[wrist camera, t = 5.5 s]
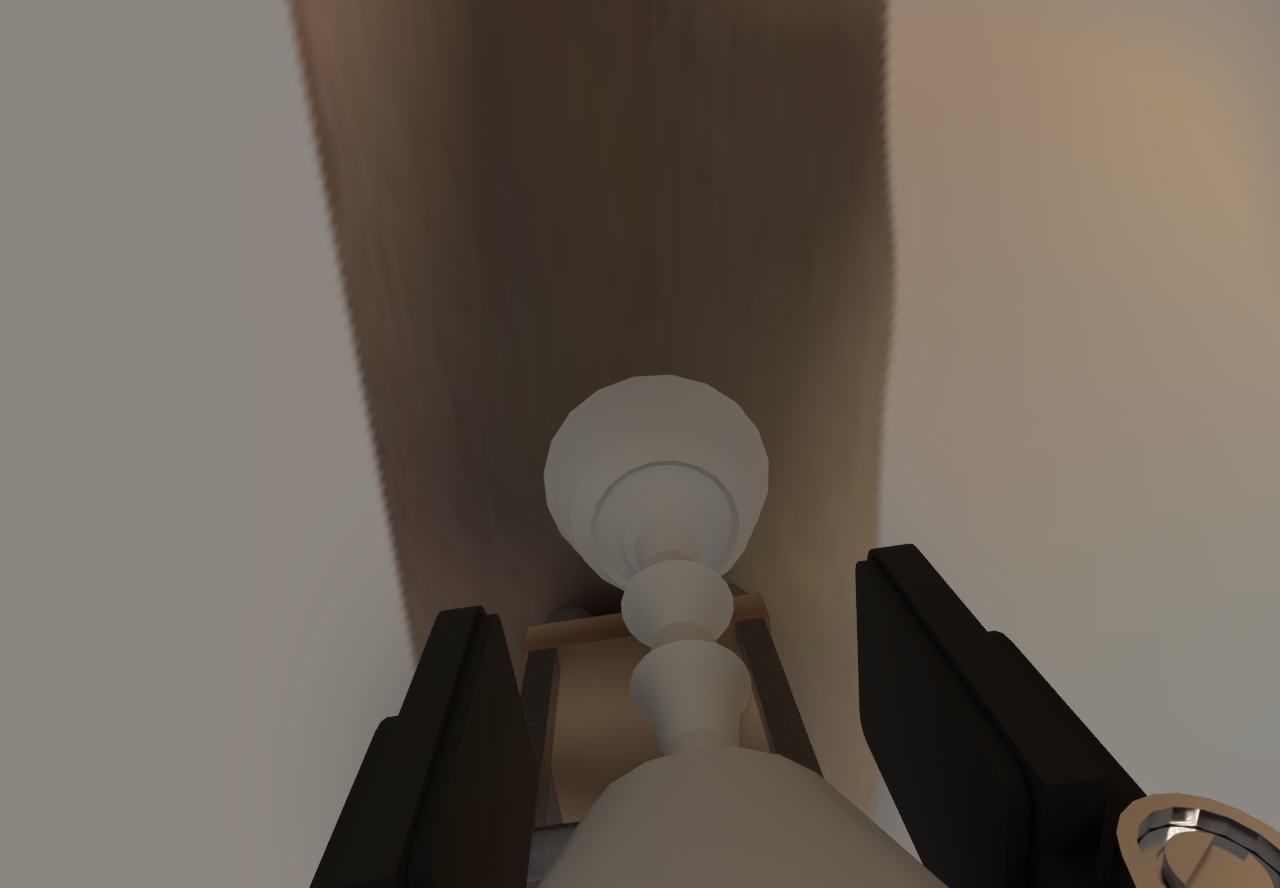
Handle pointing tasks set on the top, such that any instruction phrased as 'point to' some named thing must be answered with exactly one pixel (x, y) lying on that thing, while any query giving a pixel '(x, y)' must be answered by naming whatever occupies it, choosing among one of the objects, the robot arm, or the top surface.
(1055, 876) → the robot arm
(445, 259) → the top surface
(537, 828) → the cart
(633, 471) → the chalice
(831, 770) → the top surface
